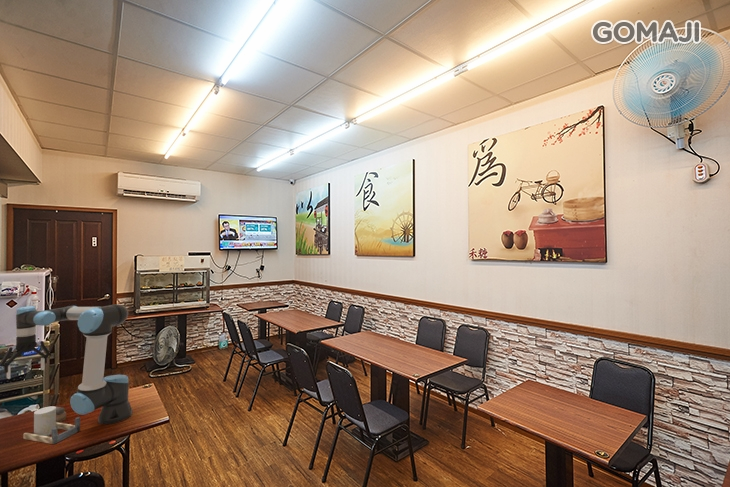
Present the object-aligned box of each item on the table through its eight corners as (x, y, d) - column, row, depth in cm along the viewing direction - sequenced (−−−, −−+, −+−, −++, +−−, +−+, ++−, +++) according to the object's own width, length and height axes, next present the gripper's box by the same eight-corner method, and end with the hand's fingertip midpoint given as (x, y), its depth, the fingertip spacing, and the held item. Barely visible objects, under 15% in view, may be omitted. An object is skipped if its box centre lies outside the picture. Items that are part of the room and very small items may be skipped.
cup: (42, 438, 165) (42, 414, 165) (29, 437, 167) (29, 413, 167) (60, 430, 173) (60, 407, 173) (47, 428, 175) (48, 405, 175)
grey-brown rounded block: (66, 419, 184) (66, 406, 184) (58, 423, 180) (58, 409, 180) (56, 417, 185) (56, 404, 185) (47, 421, 181) (47, 408, 181)
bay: (80, 430, 172) (80, 417, 172) (53, 444, 161) (54, 429, 161) (50, 426, 177) (51, 412, 177) (23, 438, 165) (23, 424, 165)
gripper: (52, 329, 195) (52, 365, 194) (-10, 339, 173) (-10, 380, 173) (58, 330, 191) (58, 367, 191) (-5, 341, 169) (-5, 383, 169)
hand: (26, 373), depth 182 cm, fingers open, 13 cm apart
